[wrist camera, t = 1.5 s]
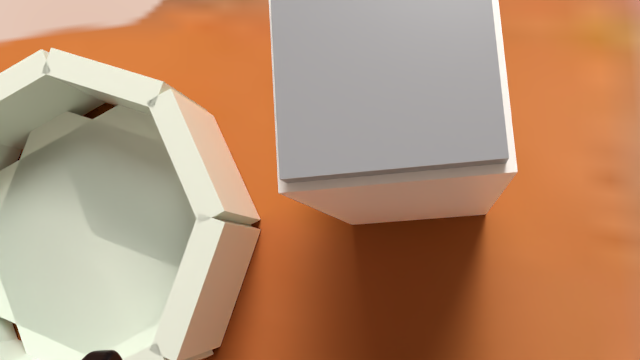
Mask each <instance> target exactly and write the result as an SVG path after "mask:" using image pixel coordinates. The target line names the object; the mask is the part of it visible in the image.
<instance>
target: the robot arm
mask: <svg viewBox="0 0 640 360" xmlns="http://www.w3.org/2000/svg"><path fill="white" fill-rule="evenodd" d="M82 360H122V358H121V356H120V355H119V353H118V352H116V351H115V350H96V351H92V352H90V353H88V354H87V355H86V356H85V357H84V358H83V359H82Z"/></svg>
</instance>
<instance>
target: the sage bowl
mask: <svg viewBox="0 0 640 360" xmlns="http://www.w3.org/2000/svg"><path fill="white" fill-rule="evenodd" d="M104 103H108V104H111V105H114V106H115V107H114V108H112V109H110V110H108V111H106V112H105V113H103V114H101V115H99V116H97V117H96V118H94V119H90V118H87V117H84V116H83V115H85V114H86V113H88V112H90V111H92V110H94V109H95V108H97V107H99V106H101V105H103V104H104ZM22 149H24V150H23V152H22V155H21V158H20V160H19V161H18V158H19V156H20V153H21V150H22ZM259 220H260V217H259V215H258V213H257V211H256V209H255V206H254V204H253V202H252V200H251V198H250V195H249V193H248V191H247V189H246V186H245V184H244V182H243V180H242V178H241V175H240V173H239V171H238V169H237V167H236V164H235V162H234V160H233V158H232V156H231V153H230V151H229V149H228V147H227V144H226V142H225V140H224V138H223V136H222V133H221V131H220V129H219V127H218V125H217V122H216V120H215V118H214V116H213V115H211V114H210V113H208V112H207V110H206V109H205V108H203V107H202V106H200V105H198V104H197V103H195V102H194V101H192V100H191V99H189V98H188V97H186V96H185V95H183V94H182V93H180V92H179V91H177V90H175V89H174V88H172V87H171V86H169V85H168V84H166V83H165V82H163V81H160V80H156V79H153V78H150V77H146V76H143V75H140V74H137V73H133V72H130V71H127V70H123V69H120V68H117V67H113V66H110V65H107V64H104V63H100V62H97V61H94V60H90V59H87V58H84V57H80V56H77V55H74V54H71V53H67V52H64V51H61V50H57V49H54V48H51V49H50V52H49V53H48V52H47V51H45V50H43V49H41V50H39V51H37V52H36V53H34V54H32V55H31V56H29V57H27V58H25V59H24V60H22V61H20V62H18V63H17V64H15V65H13V66H12V67H10V68H8V69H6V70H5V71H3V72H1V73H0V360H82V359H83V358H84V357H85V356H86V355H87V354H88V353H90V352H92V351H96V350H115V351H116V352H118V353H119V355H120V356H121V358H122V360H203V359H205V358H207V357H209V356H211V355H213V354H214V353H213V351H212V349H215V348H218V347H220V346H221V343H222V340H223V337H224V335H225V332H226V329H227V326H228V323H229V320H230V317H231V314H232V311H233V309H234V306H235V303H236V300H237V297H238V294H239V291H240V288H241V286H242V283H243V280H244V277H245V274H246V271H247V268H248V265H249V263H250V260H251V257H252V254H253V251H254V248H255V245H256V242H257V240H258V237H259V234H260V231H261V229H258V228H255V227H252V226H250V225H251V224H253V223H255V222H257V221H259ZM12 322H13V323H15V324H16V325H17V328H18V331H19V334H20V337H21V340H22V341H21V340H18V338H17V335H16V332H15V330H14V327H13V324H12Z"/></svg>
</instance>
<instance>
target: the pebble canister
mask: <svg viewBox="0 0 640 360" xmlns="http://www.w3.org/2000/svg"><path fill="white" fill-rule="evenodd" d="M269 12H270V32H271V52H272V72H273V92H274V112H275V132H276V152H277V172H278V192H279V194H282V195H284V196H286V197H289V198H291V199H293V200H296V201H298V202H300V203H302V204H305V205H307V206H309V207H312V208H314V209H316V210H319V211H321V212H323V213H326V214H328V215H330V216H332V217H335V218H337V219H339V220H342V221H344V222H346V223H349V224H351V225H356V224H369V223H382V222H395V221H409V220H422V219H435V218H448V217H461V216H474V215H486V214H487V212H488V211H489V210H490V208H491V207H492V206H493V204H494V203H495V202H496V200H497V199H498V198H499V196H500V195H501V194H502V192H503V191H504V190H505V188H506V187H507V185H508V184H509V183H510V181H511V180H512V179H513V177H514V176H515V175H516V173H517V163H516V154H515V145H514V136H513V127H512V118H511V109H510V100H509V91H508V82H507V74H506V65H505V56H504V47H503V38H502V29H501V20H500V11H499V2H498V0H269Z"/></svg>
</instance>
